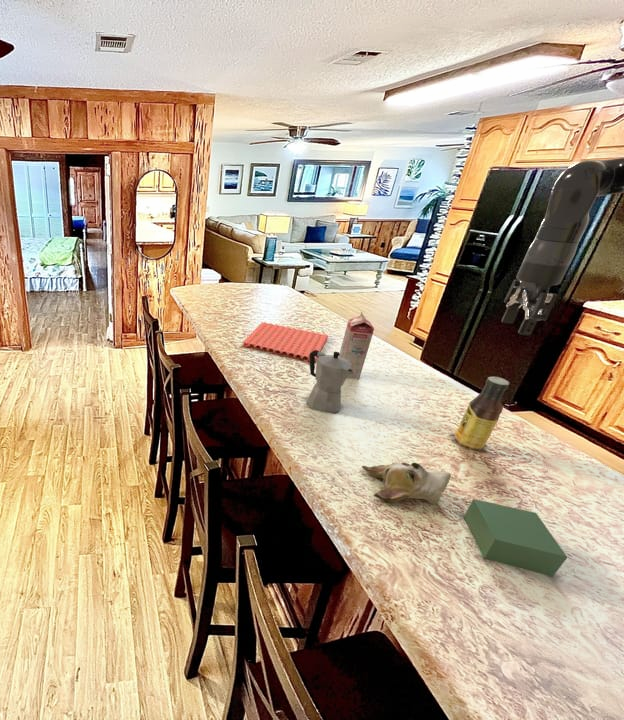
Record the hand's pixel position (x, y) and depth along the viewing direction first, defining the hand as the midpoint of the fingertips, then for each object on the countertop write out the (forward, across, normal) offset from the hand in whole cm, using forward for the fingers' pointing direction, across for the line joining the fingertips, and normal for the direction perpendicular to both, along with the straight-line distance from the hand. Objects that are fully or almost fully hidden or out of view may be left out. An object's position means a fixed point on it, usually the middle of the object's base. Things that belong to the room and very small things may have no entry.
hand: (514, 328), depth 94 cm
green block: (+30, -43, +8) cm, 53 cm away
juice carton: (+30, +24, +28) cm, 48 cm away
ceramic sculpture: (+30, -34, +23) cm, 51 cm away
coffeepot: (+30, -1, +38) cm, 48 cm away
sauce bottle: (+30, -9, +3) cm, 32 cm away
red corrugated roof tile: (+30, +45, +49) cm, 73 cm away
